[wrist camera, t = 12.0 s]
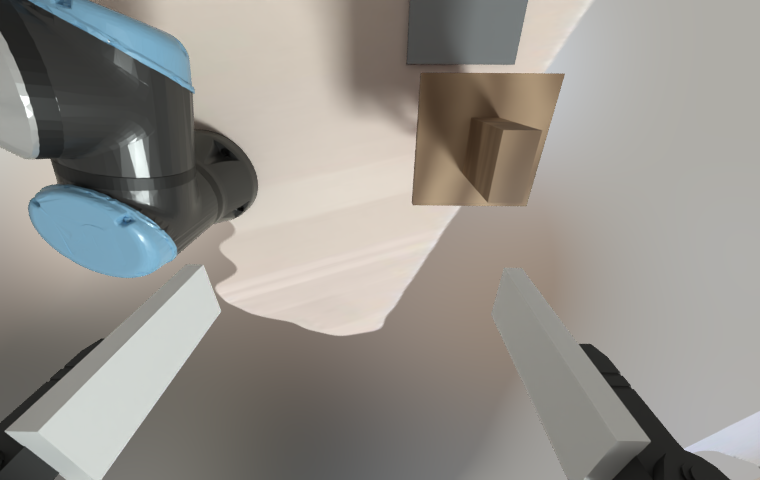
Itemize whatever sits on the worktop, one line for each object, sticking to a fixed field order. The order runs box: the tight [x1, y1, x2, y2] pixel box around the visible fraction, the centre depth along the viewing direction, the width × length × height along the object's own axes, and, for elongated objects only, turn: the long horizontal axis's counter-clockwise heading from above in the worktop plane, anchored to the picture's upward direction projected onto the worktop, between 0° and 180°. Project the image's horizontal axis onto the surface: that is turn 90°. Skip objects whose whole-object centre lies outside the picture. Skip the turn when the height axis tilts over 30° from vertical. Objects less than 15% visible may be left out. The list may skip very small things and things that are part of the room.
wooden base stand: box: [412, 73, 565, 206], centre depth 27 cm, size 14×14×10 cm
